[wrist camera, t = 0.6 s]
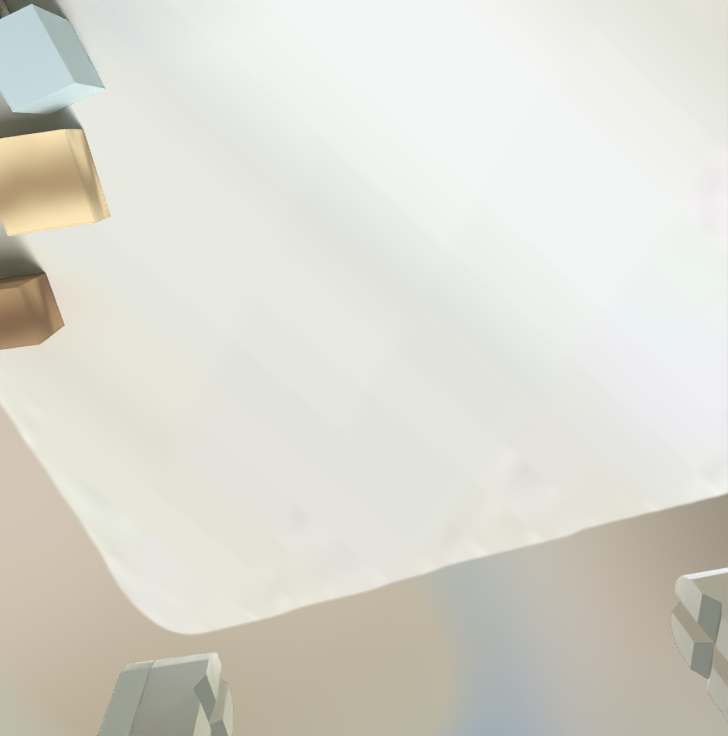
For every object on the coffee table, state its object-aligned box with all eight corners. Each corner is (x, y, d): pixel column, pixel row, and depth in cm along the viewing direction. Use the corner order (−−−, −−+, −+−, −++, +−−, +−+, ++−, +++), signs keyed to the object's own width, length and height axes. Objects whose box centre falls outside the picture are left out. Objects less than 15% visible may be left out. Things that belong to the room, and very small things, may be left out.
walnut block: (-11, 280, 49) (-44, 295, 44) (46, 272, 49) (18, 287, 45) (11, 332, 51) (-20, 352, 46) (64, 325, 51) (40, 344, 47)
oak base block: (-1, 141, 45) (-30, 142, 41) (84, 129, 45) (63, 128, 41) (31, 227, 48) (7, 236, 44) (111, 215, 48) (94, 222, 44)
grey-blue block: (11, 47, 42) (-34, 35, 37) (68, 20, 42) (31, 3, 36) (50, 114, 44) (12, 111, 39) (105, 88, 44) (75, 82, 38)
